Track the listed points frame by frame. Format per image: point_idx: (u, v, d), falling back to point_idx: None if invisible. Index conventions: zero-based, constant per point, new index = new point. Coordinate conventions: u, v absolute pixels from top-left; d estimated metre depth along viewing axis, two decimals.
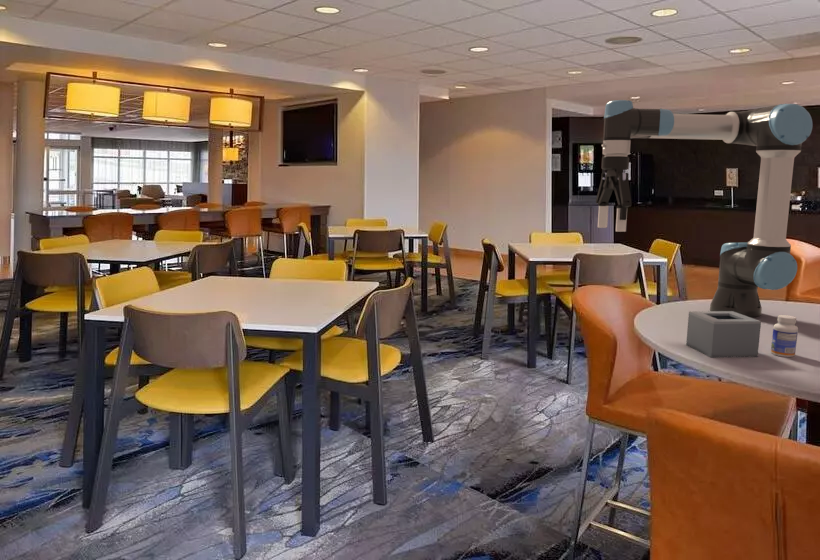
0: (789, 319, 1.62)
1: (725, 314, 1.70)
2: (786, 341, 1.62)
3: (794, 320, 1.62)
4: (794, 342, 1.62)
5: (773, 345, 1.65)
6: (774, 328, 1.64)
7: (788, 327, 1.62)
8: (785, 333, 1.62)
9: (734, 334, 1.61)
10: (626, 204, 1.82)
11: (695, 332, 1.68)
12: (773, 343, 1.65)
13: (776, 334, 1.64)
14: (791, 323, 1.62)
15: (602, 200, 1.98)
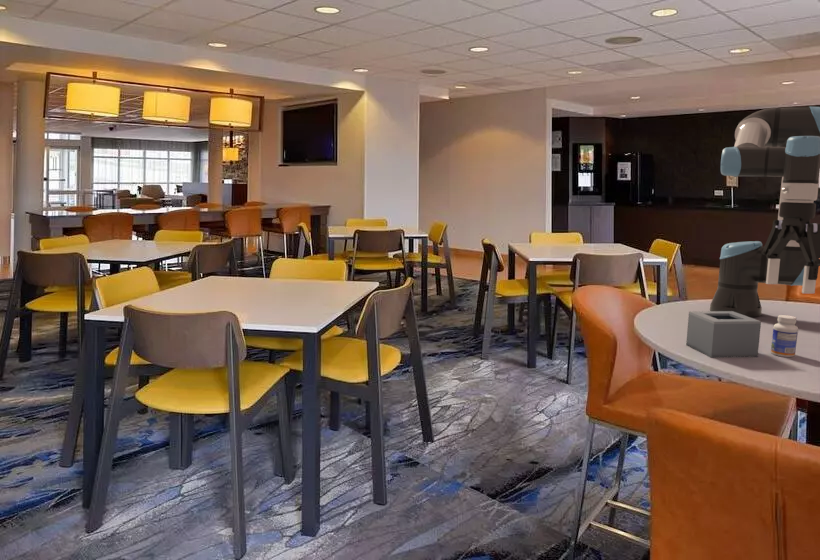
0: (789, 319, 1.62)
1: (725, 314, 1.70)
2: (786, 341, 1.62)
3: (794, 320, 1.62)
4: (794, 342, 1.62)
5: (773, 345, 1.65)
6: (774, 328, 1.64)
7: (788, 327, 1.62)
8: (785, 333, 1.62)
9: (734, 334, 1.61)
10: None
11: (695, 332, 1.68)
12: (773, 343, 1.65)
13: (776, 334, 1.64)
14: (791, 323, 1.62)
15: (773, 252, 1.67)
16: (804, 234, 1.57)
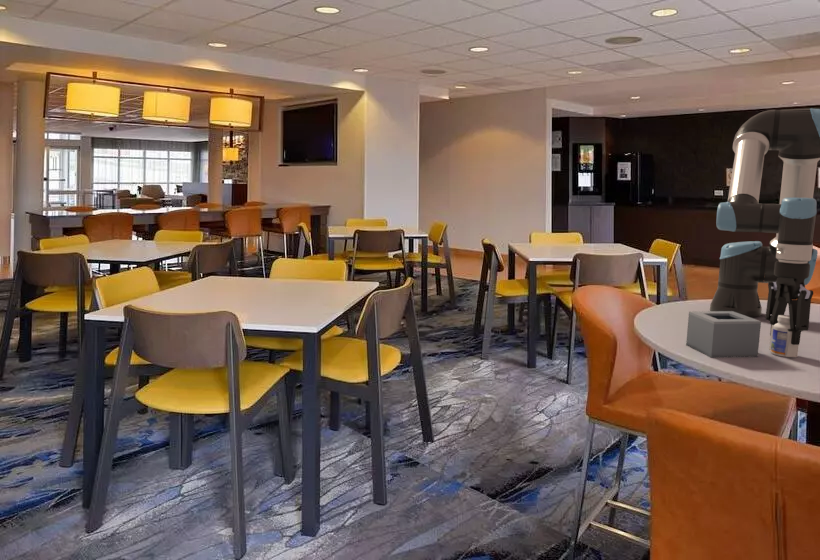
0: (789, 319, 1.62)
1: (725, 314, 1.70)
2: None
3: None
4: None
5: (773, 345, 1.65)
6: (774, 328, 1.64)
7: (788, 327, 1.62)
8: (785, 333, 1.62)
9: (734, 334, 1.61)
10: (802, 328, 1.58)
11: (695, 332, 1.68)
12: (773, 343, 1.65)
13: (776, 333, 1.64)
14: None
15: (776, 316, 1.66)
16: None
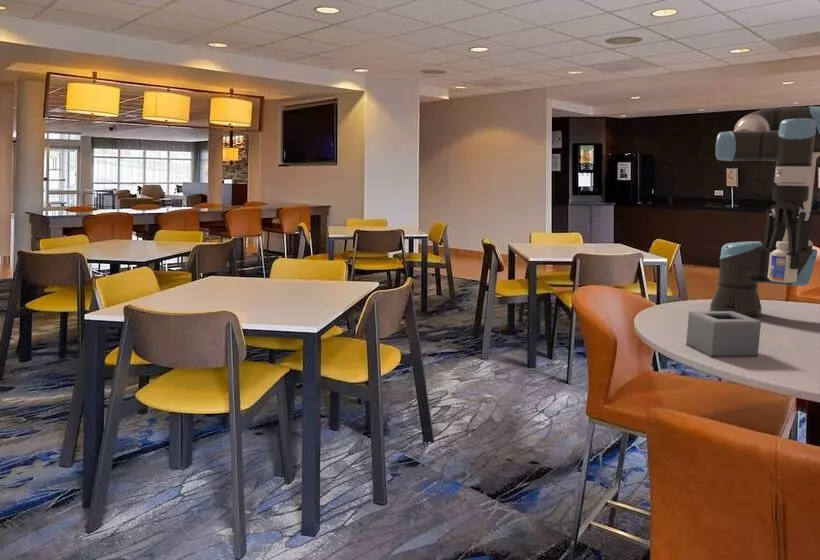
0: (788, 244, 1.59)
1: (725, 314, 1.70)
2: None
3: None
4: None
5: (772, 271, 1.62)
6: (773, 254, 1.62)
7: (787, 252, 1.59)
8: (784, 258, 1.59)
9: (734, 334, 1.61)
10: (801, 251, 1.55)
11: (695, 332, 1.68)
12: (772, 269, 1.62)
13: (774, 259, 1.61)
14: None
15: (774, 243, 1.64)
16: None
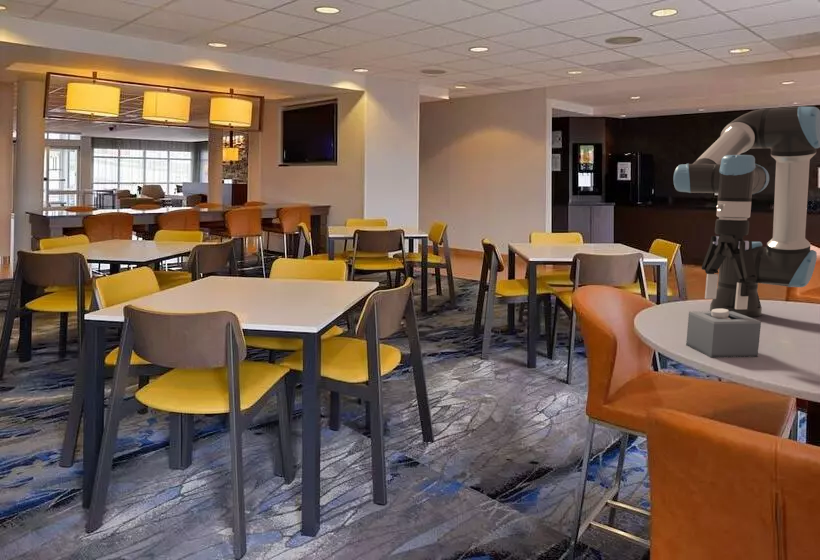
0: (721, 313, 1.64)
1: None
2: None
3: (727, 313, 1.64)
4: None
5: None
6: None
7: None
8: None
9: (734, 334, 1.61)
10: (751, 279, 1.55)
11: (695, 332, 1.68)
12: None
13: None
14: (724, 317, 1.64)
15: (711, 267, 1.70)
16: (738, 251, 1.61)
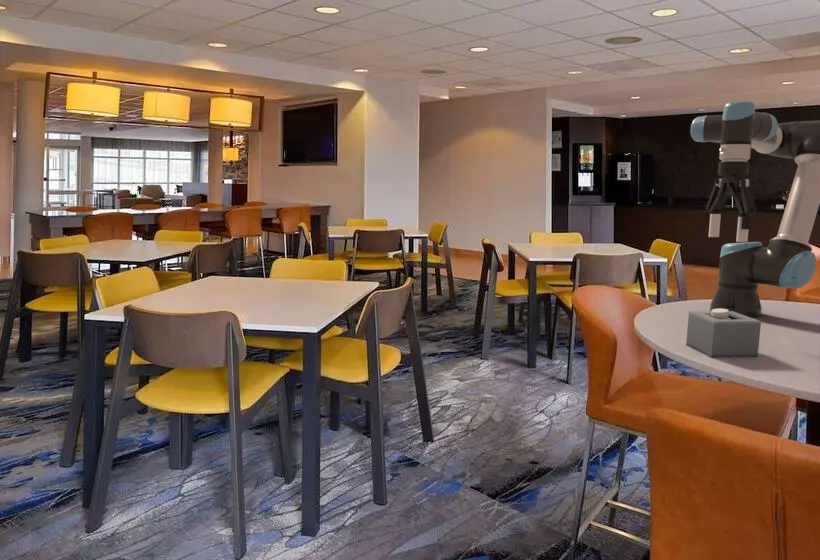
0: (722, 313, 1.64)
1: None
2: None
3: (727, 313, 1.64)
4: None
5: None
6: None
7: None
8: None
9: (734, 334, 1.61)
10: (751, 213, 1.71)
11: (695, 332, 1.68)
12: None
13: None
14: (724, 317, 1.64)
15: (715, 208, 1.87)
16: (739, 189, 1.77)
